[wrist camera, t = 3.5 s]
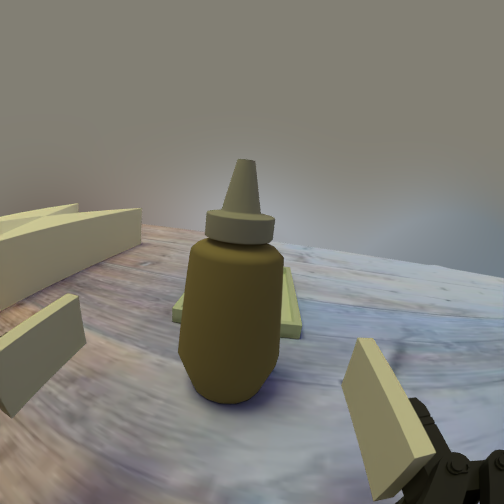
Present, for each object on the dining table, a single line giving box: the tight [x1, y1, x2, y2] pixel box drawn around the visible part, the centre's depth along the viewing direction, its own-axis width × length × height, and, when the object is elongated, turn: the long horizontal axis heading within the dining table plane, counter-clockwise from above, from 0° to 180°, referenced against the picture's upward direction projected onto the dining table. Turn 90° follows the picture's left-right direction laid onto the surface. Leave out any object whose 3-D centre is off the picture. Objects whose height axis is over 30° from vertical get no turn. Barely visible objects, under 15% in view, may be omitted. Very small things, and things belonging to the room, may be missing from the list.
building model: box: [0, 203, 142, 311], centre depth 43 cm, size 45×22×10 cm, turn 173°
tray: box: [172, 267, 302, 339], centre depth 42 cm, size 23×15×2 cm, turn 176°
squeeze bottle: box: [178, 159, 284, 404], centre depth 20 cm, size 8×8×18 cm
